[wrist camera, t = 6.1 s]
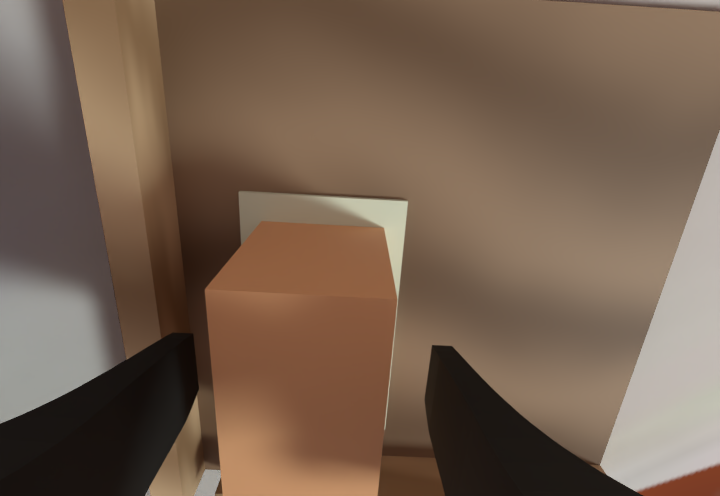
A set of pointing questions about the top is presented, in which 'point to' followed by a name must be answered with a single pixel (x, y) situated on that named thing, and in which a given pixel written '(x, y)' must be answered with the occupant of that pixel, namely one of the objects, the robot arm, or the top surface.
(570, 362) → the arena
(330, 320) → the block
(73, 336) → the top surface
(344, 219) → the pad
